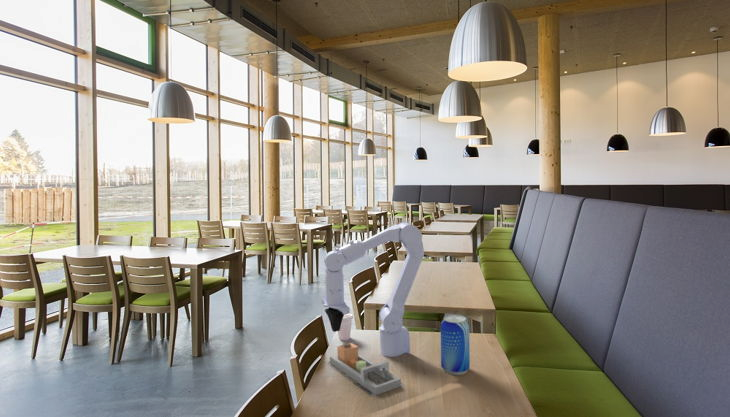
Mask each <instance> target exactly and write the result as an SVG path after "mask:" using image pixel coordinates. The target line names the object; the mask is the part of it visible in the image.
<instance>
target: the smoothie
mask: <svg viewBox="0 0 730 417" xmlns="http://www.w3.org/2000/svg"><path fill="white" fill-rule="evenodd" d="M353 316H354V315H353V314H352V313H351V312H350V313H349V314H345V315H344V316H343V319H342V322H341V327H340V331H337V336H338V340H340V341H348V340H350V339H351V331H352V322H353V320H352V319H353Z"/></svg>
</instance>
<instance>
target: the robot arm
mask: <svg viewBox="0 0 730 417" xmlns="http://www.w3.org/2000/svg"><path fill="white" fill-rule="evenodd" d="M388 242H395V243H400V242H401V244H403V247H404V248H405V251H406V253H407V255H406V257H405V260H404V262H403V265H402V267H401V270H400V272H399V274H398V278H397V279H396V283H395V285H394V287H393V290H392V292H391V295H390V297H389V298H388V299H387V300H386V302H385V304H384V305H383V306H382V307H381V309H380V310H379V313H378V318H379V319H380V321H381V322H382V323H381V325H380V327H379V345H380V347H379V348H380V355H382V356H384V357H390V358H391V357H392V358H393V357H399V356H401V355H403V354H405V353H407V354H410V355H412V353H411V336H410V332H409V330H408V328H407V327H405V326H404V325H403V323H404V322H403V320H404V319H403V317H404V315H405V304H406V302H407V299H408V297H409V294H410V292H411V288H412V286H413V284H414V281H415V279H416V276H417V273H418V271H419V269H420V267H421V263H422V261H423V259H424V257H425V256H424V255H425V249H424V245H423V244H424V243H423V235H422V232H421V231H420V230H419V227H417V226H415V225H413V224H411V223H410V222H408V221H407V222H406V221H401V222H399V223H398V224H394V225H392V226H389V227H387V228H386V229H383V230H382V231H380V232H378V233H376V234H374V235H372V236H371V237H368V238H367V239H364V240H363V241H360V240H357V239H356V240H349V242H348V244H345V245H343V246H342V247H336V248H335V250H331V251H329V252H327V253H326V255H324V256H325V257H324V265H325V279H324V280H325V297H321V304H322V306H323V308H325V309H324V312H325V314H326V316H327V318H328V320H329V324H330V328H331V330H332V332H333V333H335V332H338V331H340V327H341V322H342V319H343V316H344V315H345V314H349V313H351V308H350V307H349V306H348V304H346V302H345V290H344V283H345V282H344V273H343V268H344V266H345V265H346V266H347V265H350V264H352V263H353V262H355V261H357V260H359V259H361V258H363V257H365V255H366V253H367V251H369V250H372V249H374V248H376V247H379V246H380V245H383V244H385V243H388Z"/></svg>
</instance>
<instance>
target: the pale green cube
mask: <svg viewBox="0 0 730 417" xmlns="http://www.w3.org/2000/svg"><path fill="white" fill-rule="evenodd" d="M364 367H366V362H365V361H357V362H356V369H355V371H357V372H358V373H360V374H361V368H364Z"/></svg>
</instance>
